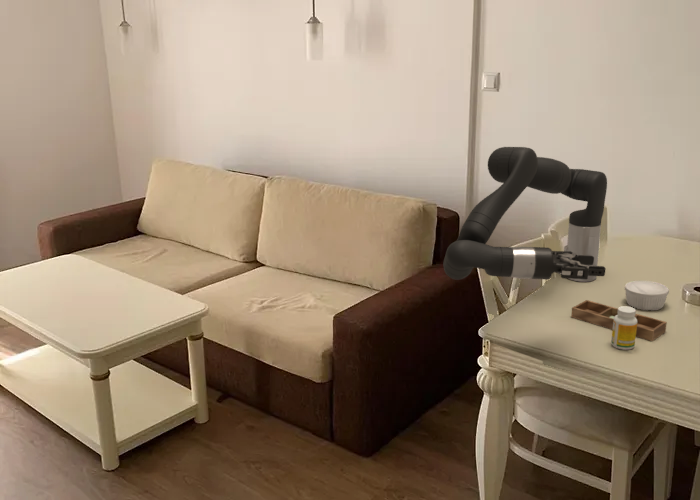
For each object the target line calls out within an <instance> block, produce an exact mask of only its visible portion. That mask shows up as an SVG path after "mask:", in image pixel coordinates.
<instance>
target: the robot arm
mask: <svg viewBox="0 0 700 500" xmlns="http://www.w3.org/2000/svg"><path fill="white" fill-rule="evenodd" d="M487 170H488V173H489V175H490V177H491V178H492V179H494V181H496V182H498V183H500V184H501V185H500V186H499V187H498V188H496V189H495V190H494V191H493V192H491V193H490V194H488V195H487V196H486V197H484V198H483V199H482V200H480V201H479V202H478V203H477V204H476V205H475V206H474V207H473V208H472V209H471V211H470V213H469V215H468V216H467V218H466V219H465V221H464V223H463V224H462V227H461V228H460V231H459V235H458V237H457V239H456V240H455V241H454V242H452V243H450V244H449V245H448V247H447V249H446V251H445V256H444V259H443V264H442V265H443V271H444V273H445V275H446V276H447V277H449V278H450V279H452V280H459V281H460V280H464V279H465V278H467V277H468V276H469V275H470V274H471V273H472V271H473V269H474V268H475V269H481V270H484V272H485V273H486V275H488V276H490V277H500V278H501V277H502V278H516V279H521V280H522V279H525V280H528V279H529V280H545V281H546V280H549V279H551V277H552V275H553V274H554V273H557V274H558V275H560V278H562V279H568V280H571V281H575V282H581V283H583V282H585V283H586V282H593V281H595V280H596V279H597V277H604V276H605V274H606V267H605V266H604V265H598V262H599V253H600V251H599V250H600V243H601V242H600V240H601V230H602V229H601V227H602V220H603V219H602V218H603V215H604V213H605V212H604V210H605V201H606V196H607V189H608V178H607V175H606V174H605V173H604V172H602V171H597V170H591V169H589V170H588V169H585V168H584V169H583V168H570V167H569V166H568V165H567V164H566V163H565V162H563V161H560V160H557V159H554V158H549V157H542V156H538V155H537V153H536V151H535V149H532V148H530V147H526V146H503V147H498V148H496V149H495V150H492V152H491V153H490V155H489V157H488V160H487ZM526 188H531V189H532V190H533V189H534V190H536V191H540V192H543V193H547V194H551V195H552V194H553V195H554V194H556V195H557V194H561V195H564V196H566V197H567V198H570V199H572V200H576V201H580V202H587V203H586V207H585V208H584V209H578V210H574V211H571V213H570V214H569V216H568V217H569V218H568V229H567V231H568V232H567V243H566V245H565V246H564V247H563V250H561V251H560V250H552V248H550V247H543V246H542V247H541V246H513V247H509V246H493V245H489V244H487V243H488V241H489V240H490V238H491V236H492V234H493V233H494V231H495V229H496V228H497V226H498V223H500V221H501V219H503V216H504V215H505V214H506V212H507V211H508V210H509V208H510V207H512V205H513V204H514V203H515V201H517V199H518V198H519V197H520V196H521V195H522V193H523V192H524V191H525V189H526Z"/></svg>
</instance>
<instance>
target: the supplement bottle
mask: <svg viewBox="0 0 700 500" xmlns="http://www.w3.org/2000/svg"><path fill="white" fill-rule="evenodd" d="M636 312H637V311H636V308H633V307H631V306H629V305H628V306H626V305H625V306H624V305H621V306H619V307H618V312H617V313H618V315H616V316H615V317H614V321H613V329H611V330H612V331H611V341H610V344H611V346H612V347H613V348H616V349H618V350H624V351H629V350H633V349H634V348H635V345H636V330H637V319H636V318H635V317H634V316H635V314H637V313H636Z"/></svg>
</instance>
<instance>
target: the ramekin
mask: <svg viewBox="0 0 700 500" xmlns="http://www.w3.org/2000/svg"><path fill="white" fill-rule="evenodd" d="M624 290H625V297H626V298H625V299H626V303H627V304H628V306H629V307H631V306H632V308H633V307H634V309H636V308H637V310H640V309H641V311H648V310H651V311H658V310H661V309H662V308H663V307H664V306H665V303H666V300H667V296H668V295H669V294H670V293H669V292H670V289H669V288H668V286H667V285H664V283H663V284H662V283H660V282H656V281H652V280H633V281H628V282H626V284H624Z"/></svg>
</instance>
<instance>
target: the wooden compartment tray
mask: <svg viewBox="0 0 700 500" xmlns="http://www.w3.org/2000/svg"><path fill="white" fill-rule="evenodd" d="M618 308H619V307H618ZM618 308H616V307H613V306H611V305H606V304H602V303H599V302H595V301H591V300H588V299H586V300H584V301H582V302H580V303H578V304H576V305H575V306H573V307H571V317H570V318H574V319H576V320H579V321H582V322H587V323H589V324H593V325H596V326H600V327H604V328H606V329H610V330H613V321H614V317H615V316H616V315H618V313H617V312H618ZM634 317H635V318H636V319H637V330H636V337H637V338H640V339H643V340H647V341H650V342H653V341H654V340H656V339H657V338H659V337H660V336H662V335H664V334H665V333H666V332H667V331H666V330H667V321H664V320H661V319H657V318H654V317H649V316H646V315H643V314H639V313H636V314H635V316H634Z"/></svg>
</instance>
